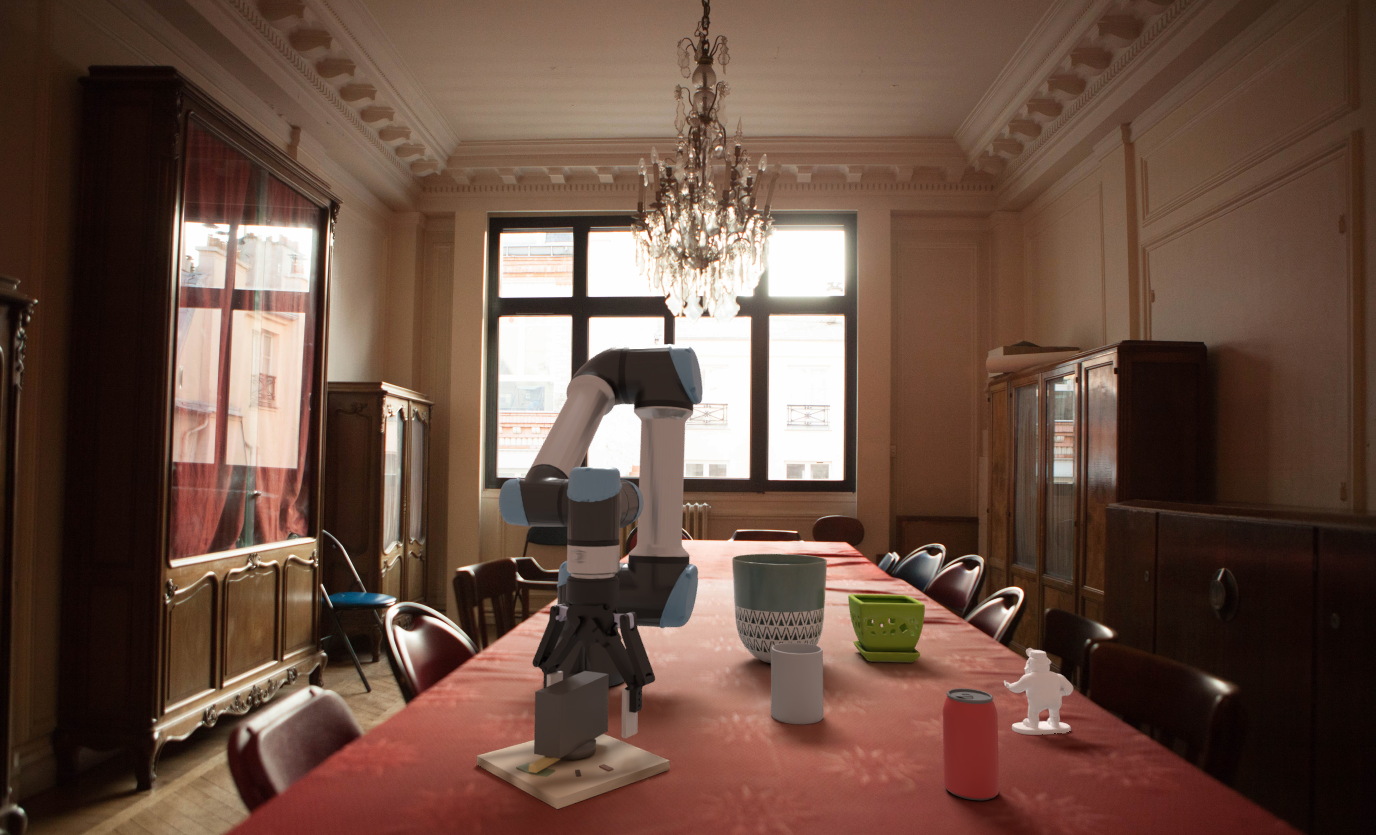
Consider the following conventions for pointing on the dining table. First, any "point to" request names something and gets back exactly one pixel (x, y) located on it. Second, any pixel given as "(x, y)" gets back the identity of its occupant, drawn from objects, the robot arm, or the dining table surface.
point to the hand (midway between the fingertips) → (590, 726)
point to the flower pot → (887, 626)
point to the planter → (778, 600)
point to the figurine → (1041, 695)
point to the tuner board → (574, 770)
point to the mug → (797, 683)
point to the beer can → (970, 744)
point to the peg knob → (570, 718)
